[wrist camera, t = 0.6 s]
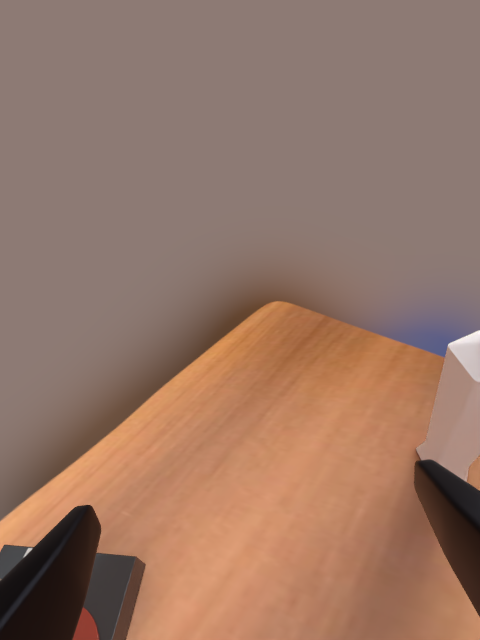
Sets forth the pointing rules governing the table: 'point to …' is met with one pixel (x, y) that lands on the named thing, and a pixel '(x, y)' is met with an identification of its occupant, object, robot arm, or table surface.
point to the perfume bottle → (456, 409)
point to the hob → (99, 588)
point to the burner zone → (86, 627)
